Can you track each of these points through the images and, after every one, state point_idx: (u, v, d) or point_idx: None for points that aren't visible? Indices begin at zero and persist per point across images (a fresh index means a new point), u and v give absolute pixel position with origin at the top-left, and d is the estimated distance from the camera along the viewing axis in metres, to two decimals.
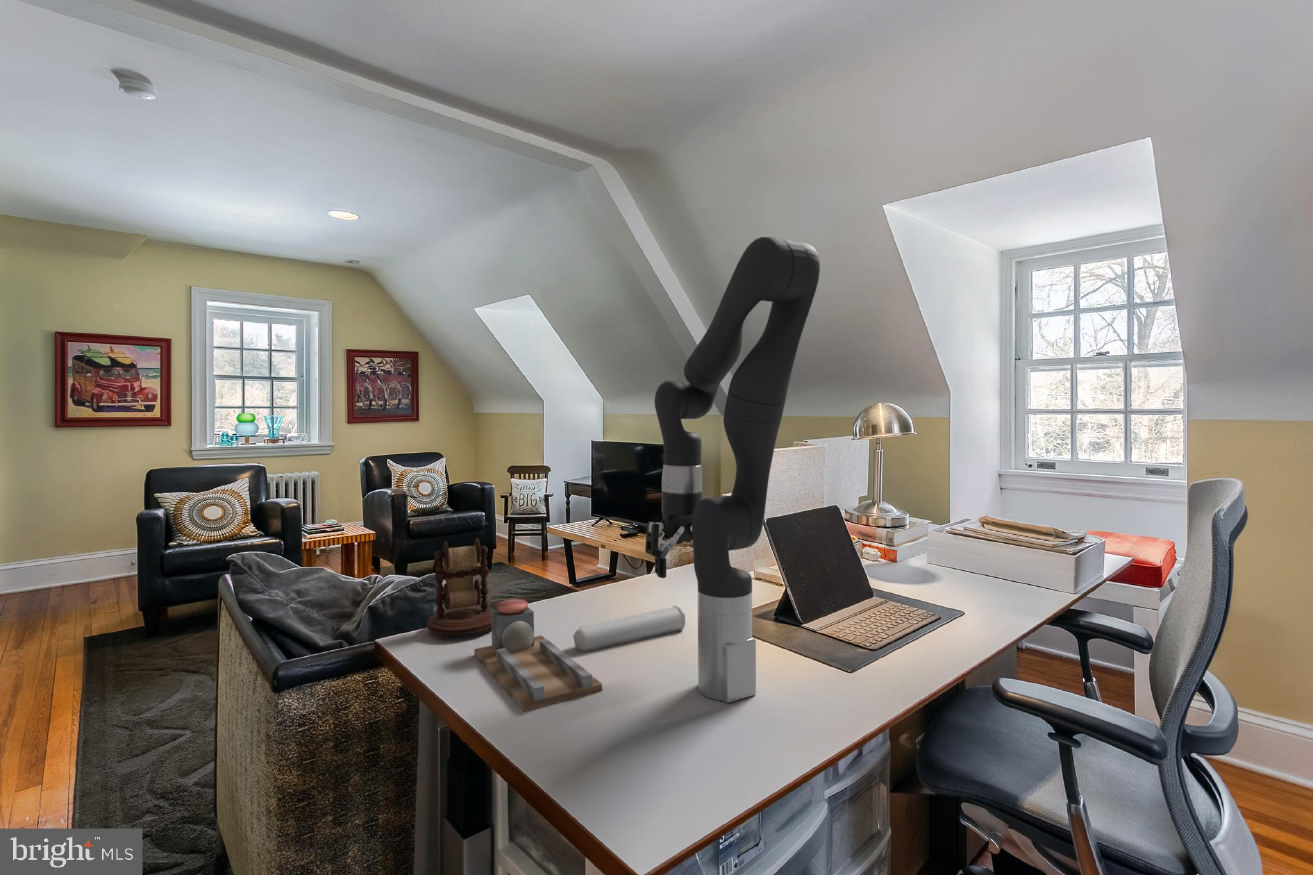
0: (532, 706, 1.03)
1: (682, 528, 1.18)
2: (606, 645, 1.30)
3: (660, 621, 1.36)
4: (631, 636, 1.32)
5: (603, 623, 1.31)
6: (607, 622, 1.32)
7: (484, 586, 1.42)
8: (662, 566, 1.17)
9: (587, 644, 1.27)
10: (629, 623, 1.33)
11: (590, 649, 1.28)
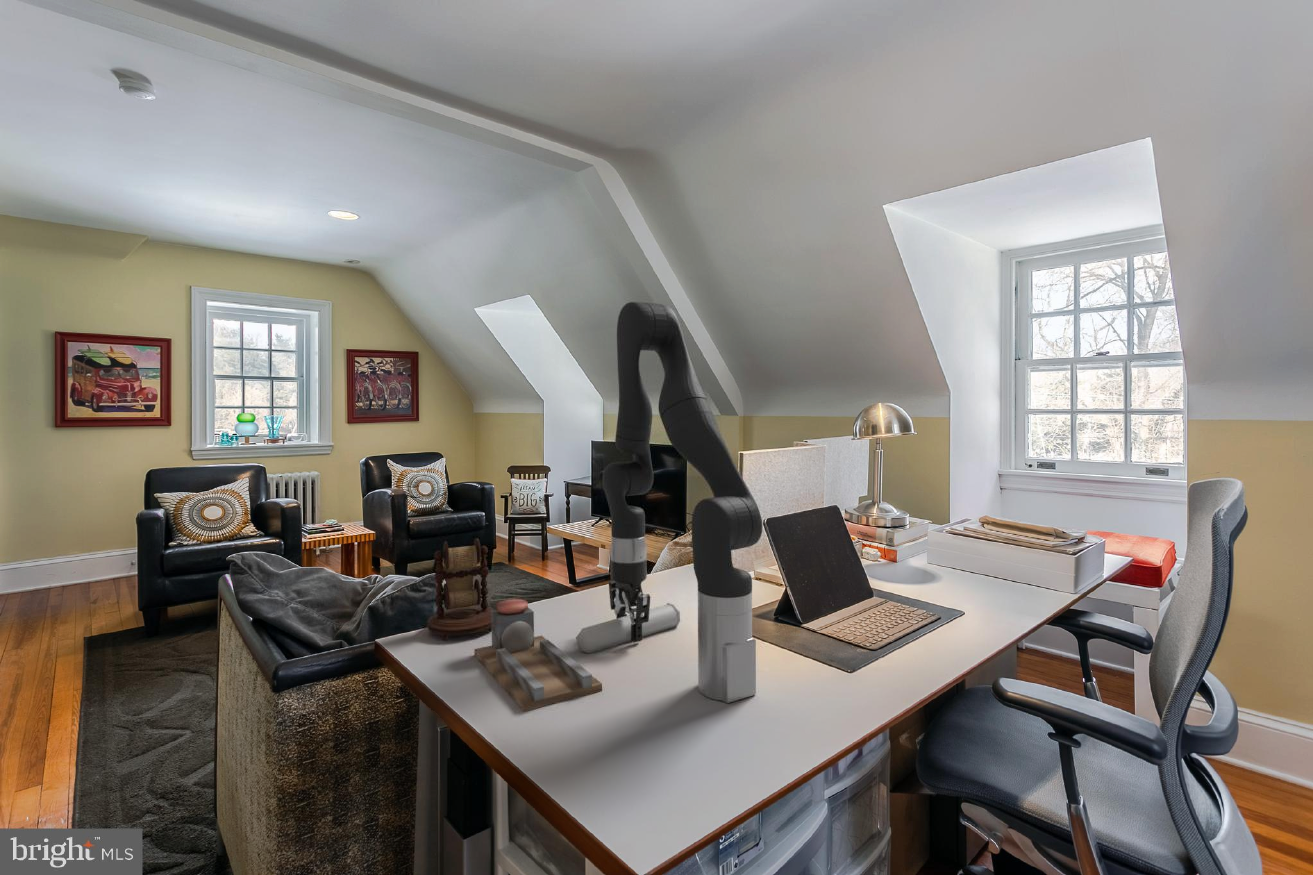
0: (532, 706, 1.03)
1: None
2: (609, 645, 1.30)
3: (657, 618, 1.37)
4: None
5: (604, 624, 1.31)
6: (608, 622, 1.32)
7: (484, 586, 1.42)
8: None
9: (592, 646, 1.26)
10: (629, 622, 1.33)
11: (594, 650, 1.27)
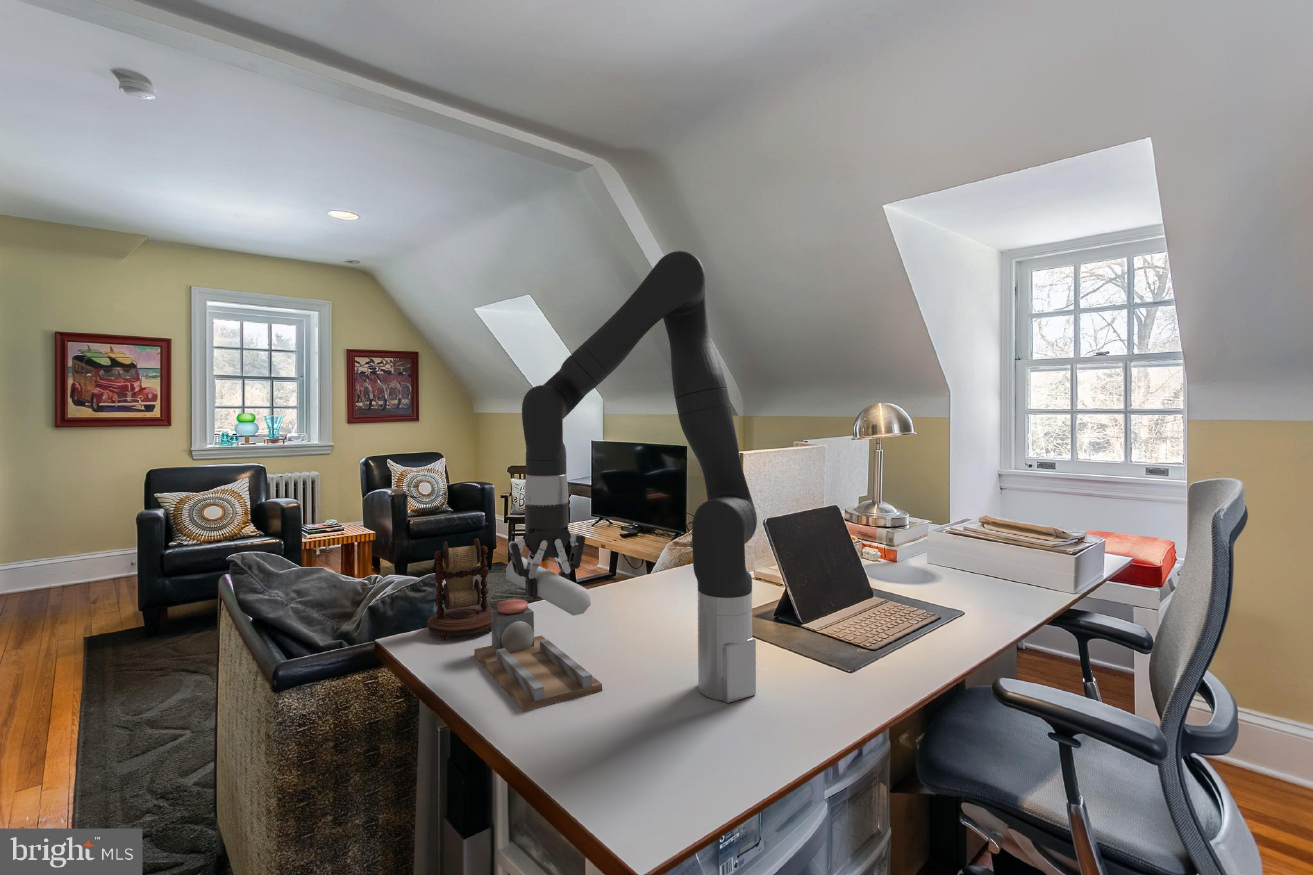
0: (532, 706, 1.03)
1: None
2: None
3: None
4: None
5: (562, 580, 1.08)
6: (559, 579, 1.09)
7: (484, 586, 1.42)
8: None
9: None
10: None
11: None
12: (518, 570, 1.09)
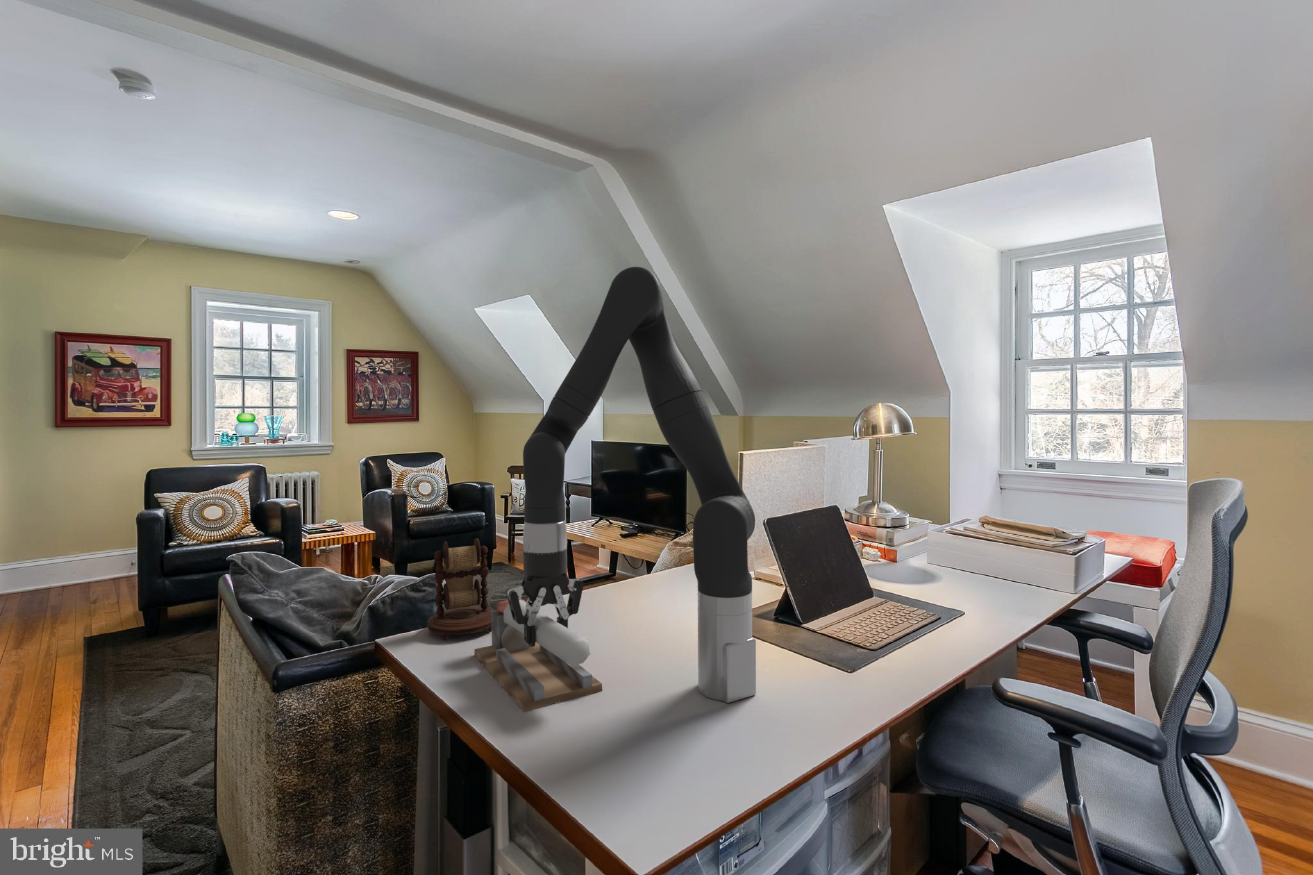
0: (532, 706, 1.03)
1: None
2: None
3: None
4: None
5: (561, 628, 1.08)
6: (558, 627, 1.08)
7: (484, 586, 1.42)
8: None
9: None
10: None
11: None
12: (517, 618, 1.09)
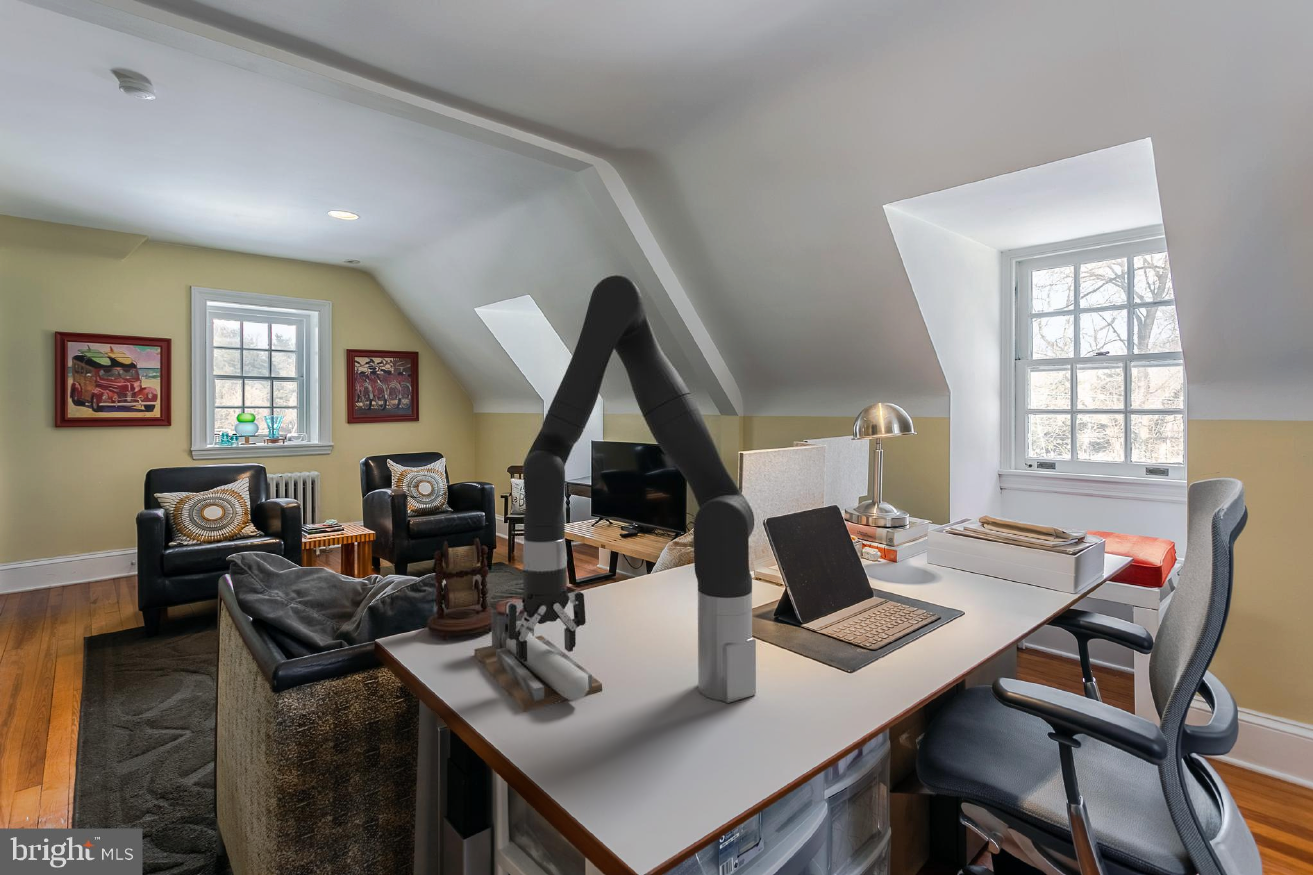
0: (532, 706, 1.03)
1: None
2: None
3: None
4: None
5: (561, 662, 1.08)
6: (558, 660, 1.08)
7: (484, 586, 1.42)
8: None
9: None
10: (555, 653, 1.13)
11: None
12: (509, 632, 1.08)
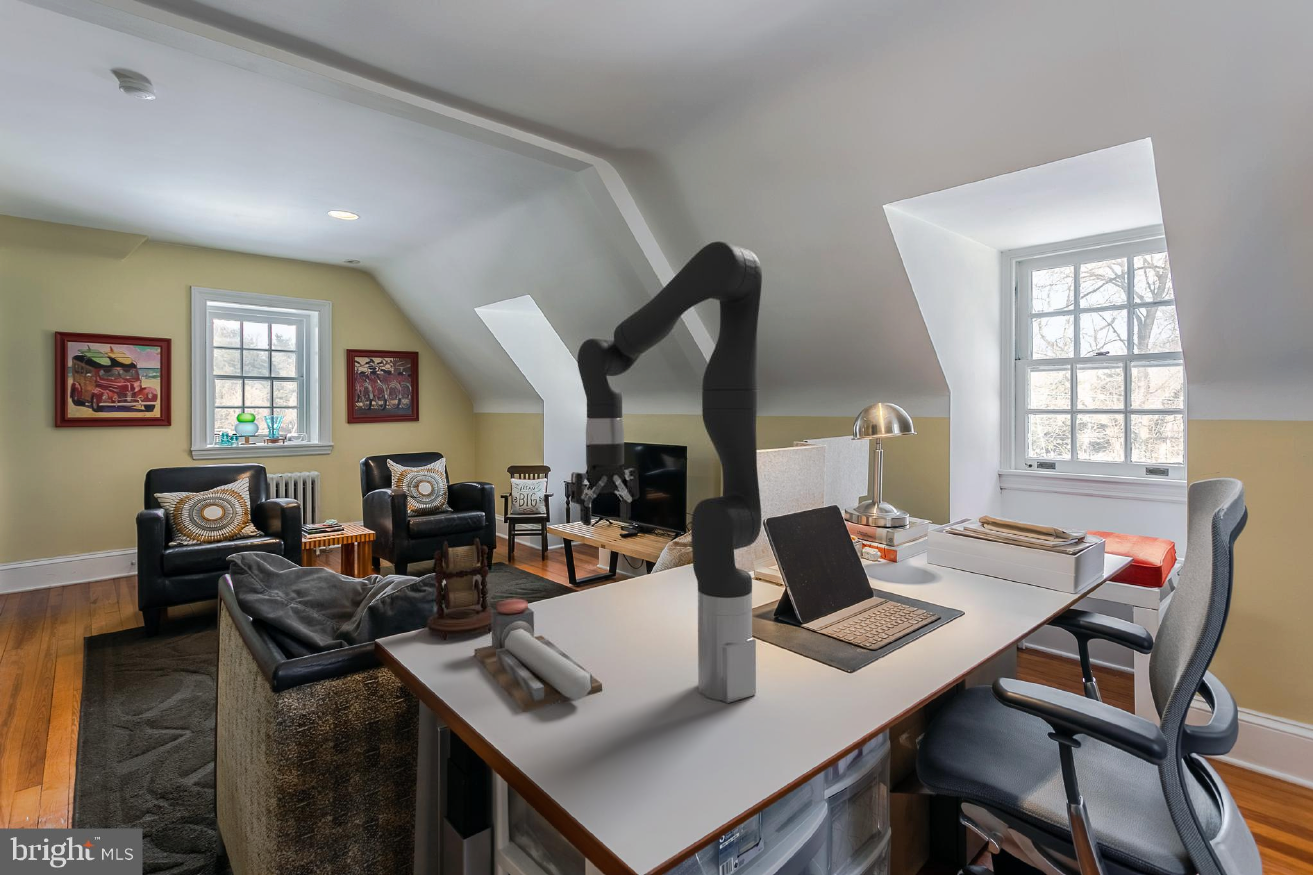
0: (532, 706, 1.03)
1: None
2: None
3: None
4: None
5: (562, 661, 1.08)
6: (559, 660, 1.08)
7: (484, 586, 1.42)
8: None
9: None
10: None
11: None
12: (576, 497, 1.22)
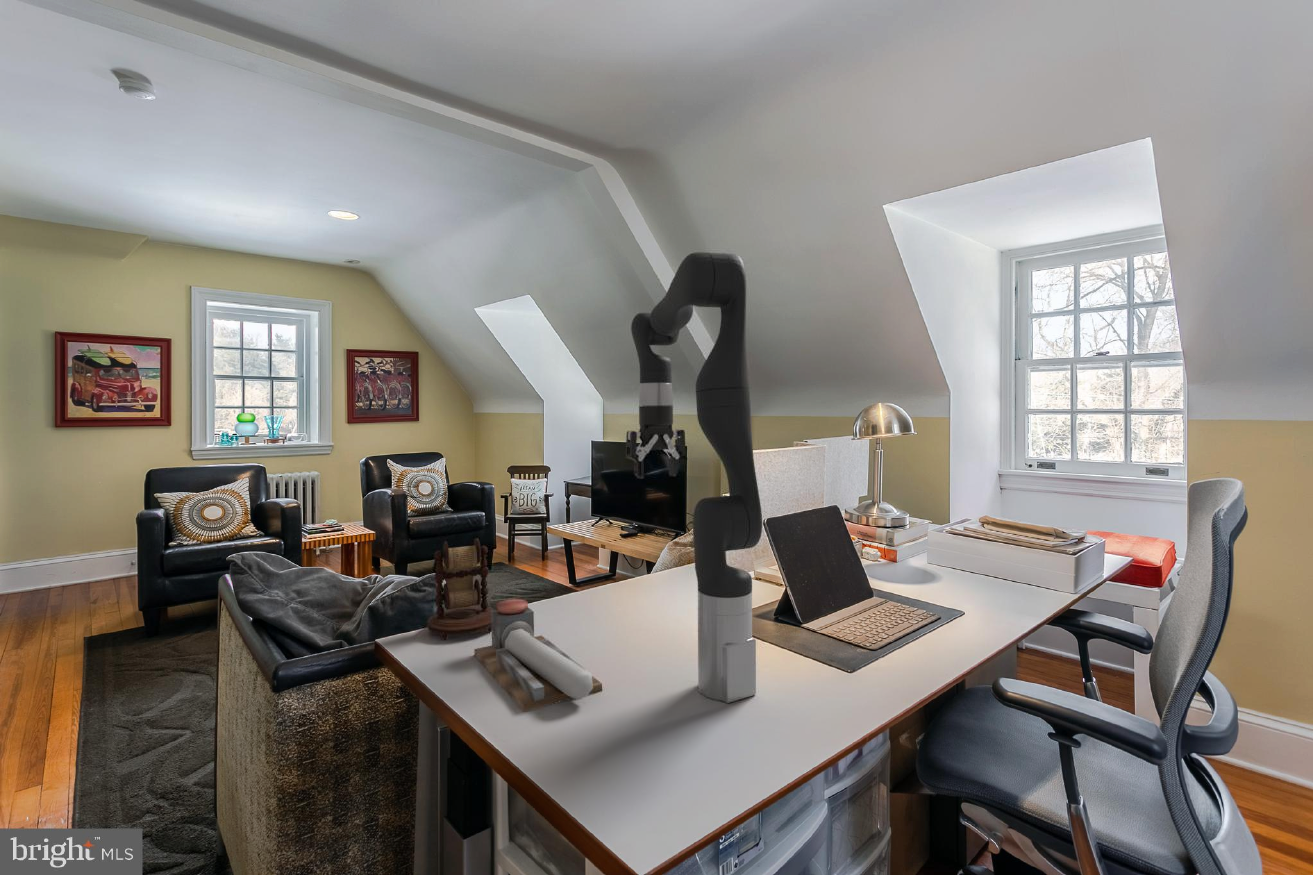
0: (532, 706, 1.03)
1: None
2: None
3: None
4: None
5: (564, 661, 1.08)
6: (560, 659, 1.09)
7: (484, 586, 1.42)
8: None
9: None
10: None
11: None
12: (631, 453, 1.38)
